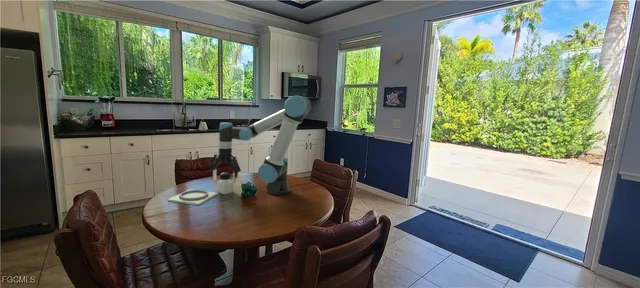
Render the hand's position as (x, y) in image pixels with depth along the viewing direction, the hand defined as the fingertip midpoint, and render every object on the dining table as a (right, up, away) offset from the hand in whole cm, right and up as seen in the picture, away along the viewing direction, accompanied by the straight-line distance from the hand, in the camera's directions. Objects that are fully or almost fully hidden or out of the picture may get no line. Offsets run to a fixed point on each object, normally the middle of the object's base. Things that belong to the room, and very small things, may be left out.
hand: (224, 181), depth 169 cm
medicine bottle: (0, -7, +1) cm, 7 cm away
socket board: (-14, -8, -12) cm, 20 cm away
